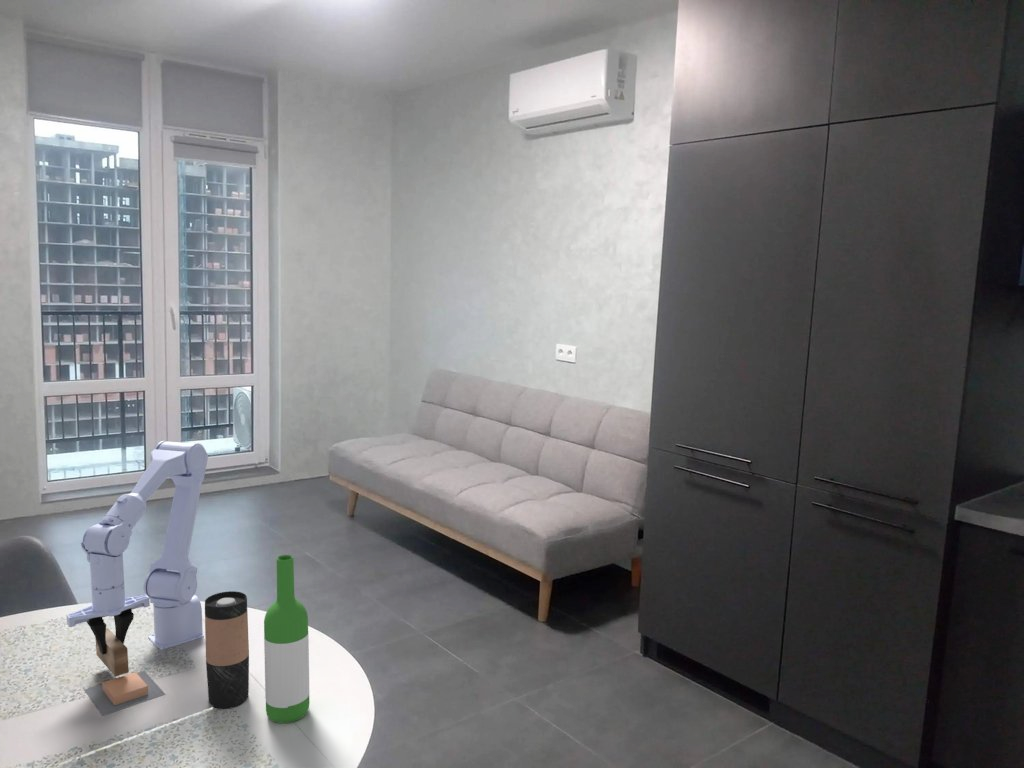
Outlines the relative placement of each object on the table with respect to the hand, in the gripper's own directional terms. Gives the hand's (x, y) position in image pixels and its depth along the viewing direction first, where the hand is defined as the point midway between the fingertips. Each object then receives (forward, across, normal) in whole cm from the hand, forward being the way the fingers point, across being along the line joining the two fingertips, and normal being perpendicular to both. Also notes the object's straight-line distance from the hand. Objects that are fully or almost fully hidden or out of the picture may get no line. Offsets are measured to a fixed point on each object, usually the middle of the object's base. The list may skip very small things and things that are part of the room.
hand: (111, 649), depth 150 cm
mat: (+6, 0, -8) cm, 10 cm away
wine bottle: (+6, +20, -35) cm, 40 cm away
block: (+5, 0, -5) cm, 7 cm away
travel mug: (+6, +14, -23) cm, 27 cm away
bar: (+3, 0, 0) cm, 3 cm away
